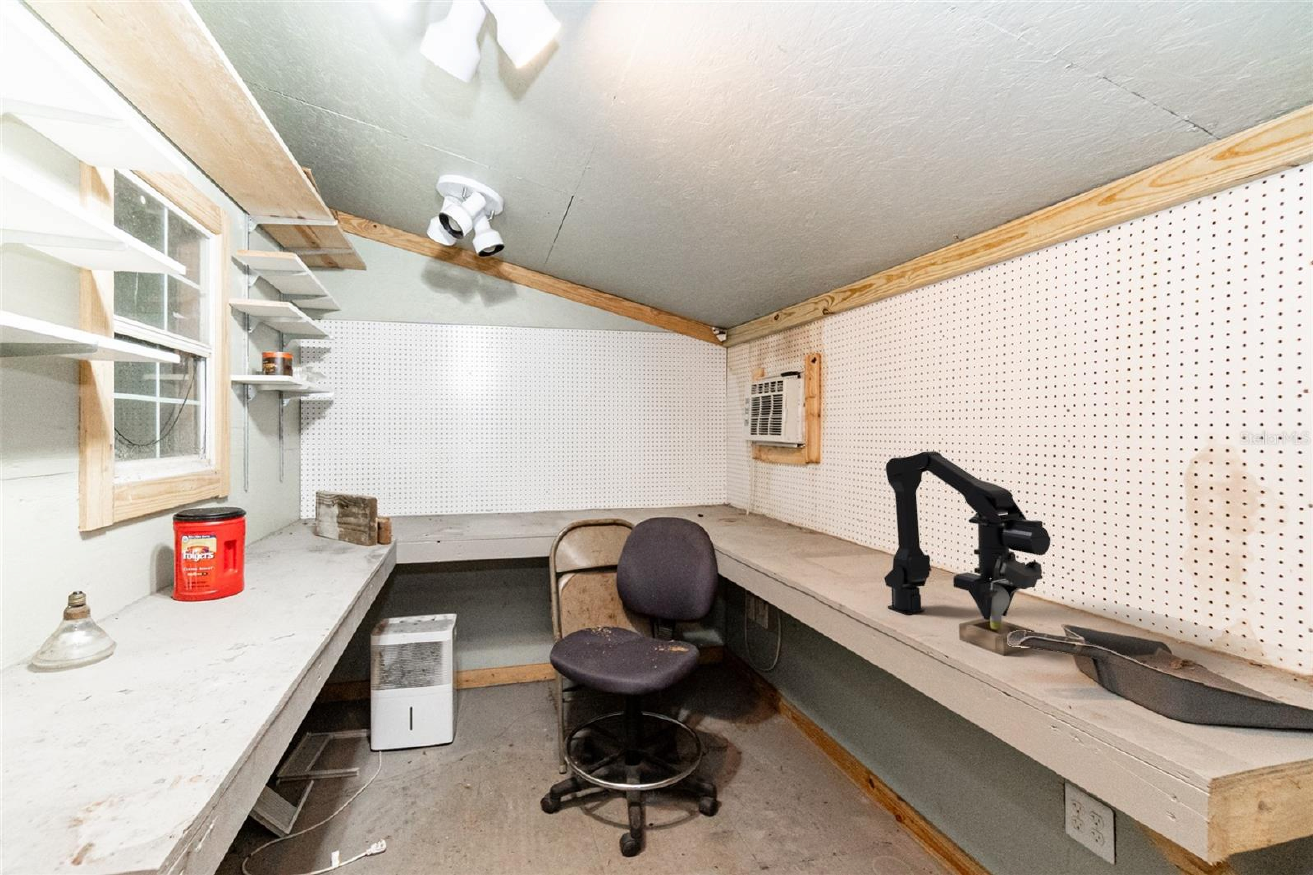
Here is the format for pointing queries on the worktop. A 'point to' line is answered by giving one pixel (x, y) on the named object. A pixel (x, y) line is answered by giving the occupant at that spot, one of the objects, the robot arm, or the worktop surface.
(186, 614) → the worktop surface
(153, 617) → the worktop surface
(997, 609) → the light bulb
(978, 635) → the socket block
